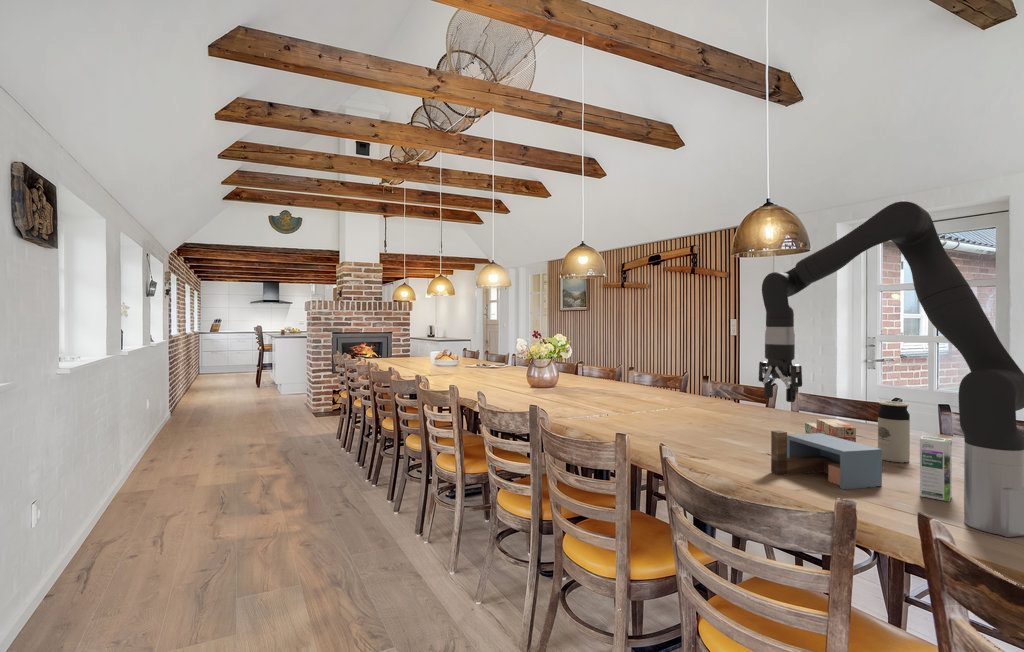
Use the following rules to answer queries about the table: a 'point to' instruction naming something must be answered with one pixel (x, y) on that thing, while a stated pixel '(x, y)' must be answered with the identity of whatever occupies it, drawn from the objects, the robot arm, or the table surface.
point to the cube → (834, 473)
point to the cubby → (841, 458)
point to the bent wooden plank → (794, 458)
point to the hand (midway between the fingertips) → (779, 399)
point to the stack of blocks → (832, 429)
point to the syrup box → (936, 468)
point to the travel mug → (894, 431)
